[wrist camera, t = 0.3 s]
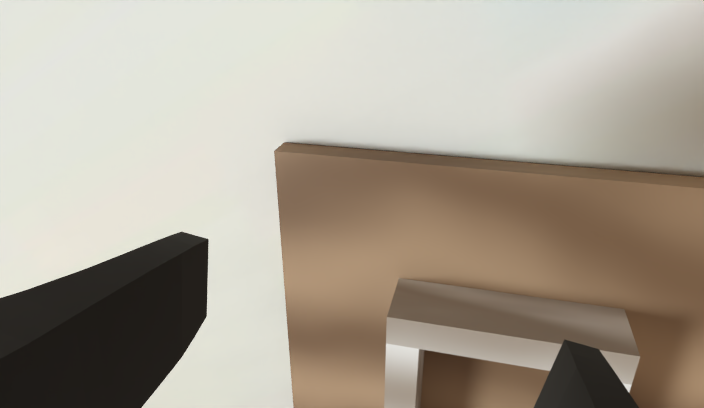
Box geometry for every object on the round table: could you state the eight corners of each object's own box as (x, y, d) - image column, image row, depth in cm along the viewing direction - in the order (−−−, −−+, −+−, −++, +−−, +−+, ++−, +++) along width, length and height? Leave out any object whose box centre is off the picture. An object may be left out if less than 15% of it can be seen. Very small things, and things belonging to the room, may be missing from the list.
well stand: (671, 540, 24) (695, 625, 21) (304, 457, 28) (281, 518, 25) (822, 186, 16) (895, 241, 13) (284, 142, 20) (245, 176, 17)
